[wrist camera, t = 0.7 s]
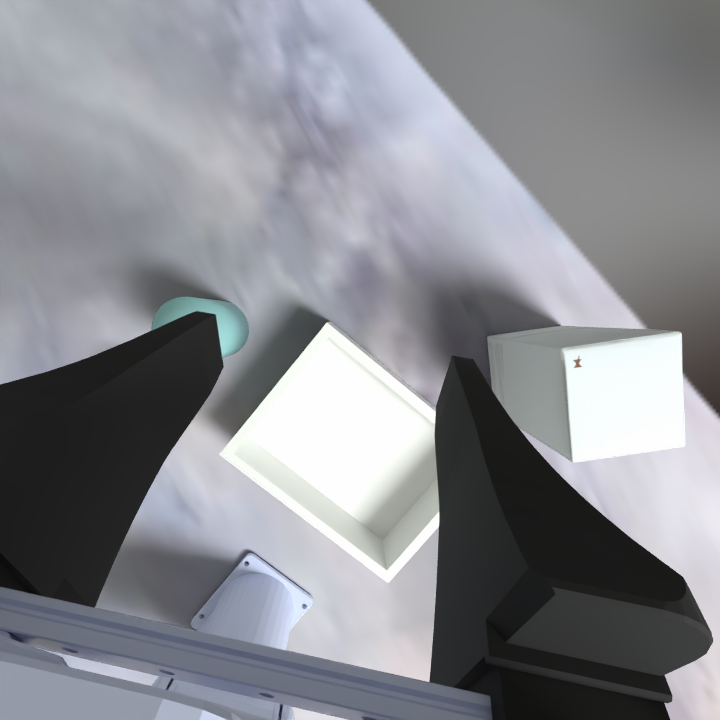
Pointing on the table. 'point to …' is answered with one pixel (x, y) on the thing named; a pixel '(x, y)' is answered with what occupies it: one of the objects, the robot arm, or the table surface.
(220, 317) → the teal cylinder
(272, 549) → the table surface
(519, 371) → the supplement box
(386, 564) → the tote
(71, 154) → the table surface
